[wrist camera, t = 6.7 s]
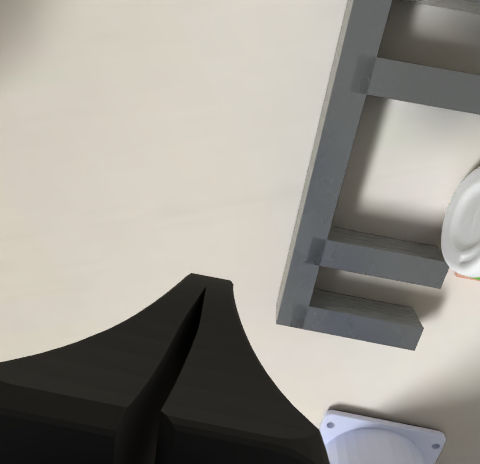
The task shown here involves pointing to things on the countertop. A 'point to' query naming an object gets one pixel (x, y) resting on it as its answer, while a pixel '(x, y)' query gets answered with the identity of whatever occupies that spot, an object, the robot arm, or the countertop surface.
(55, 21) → the countertop surface
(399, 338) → the rail
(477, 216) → the supplement bottle
